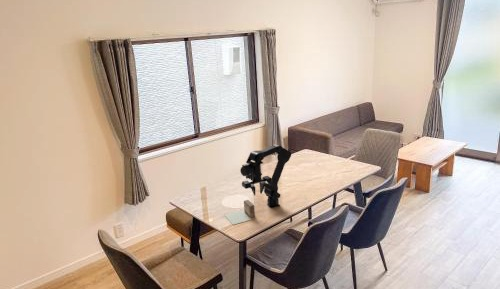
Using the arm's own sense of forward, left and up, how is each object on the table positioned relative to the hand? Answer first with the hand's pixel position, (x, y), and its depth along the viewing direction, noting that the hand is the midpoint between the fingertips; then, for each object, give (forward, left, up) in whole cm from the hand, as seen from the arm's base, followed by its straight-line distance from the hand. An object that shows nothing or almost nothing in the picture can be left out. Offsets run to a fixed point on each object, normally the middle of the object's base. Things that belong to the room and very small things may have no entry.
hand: (257, 194), depth 230 cm
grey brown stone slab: (+6, 0, -12) cm, 14 cm away
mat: (+15, 0, -12) cm, 19 cm away
